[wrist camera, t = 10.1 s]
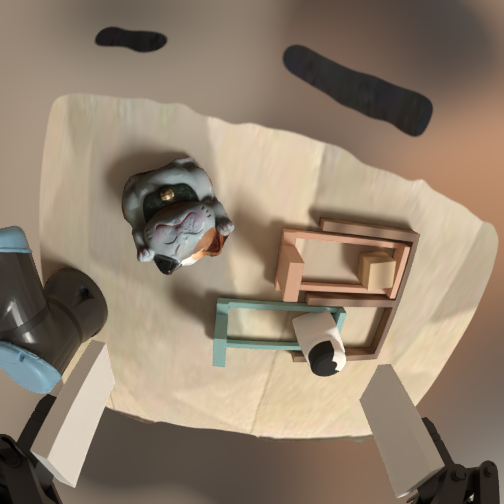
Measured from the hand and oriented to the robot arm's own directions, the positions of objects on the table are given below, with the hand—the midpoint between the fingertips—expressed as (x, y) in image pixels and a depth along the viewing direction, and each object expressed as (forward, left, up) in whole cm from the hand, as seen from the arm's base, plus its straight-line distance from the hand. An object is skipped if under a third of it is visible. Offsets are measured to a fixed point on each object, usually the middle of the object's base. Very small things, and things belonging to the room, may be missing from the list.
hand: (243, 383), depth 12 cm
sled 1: (+18, -7, -34) cm, 40 cm away
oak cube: (+24, -7, -35) cm, 43 cm away
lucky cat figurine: (-9, +1, -35) cm, 36 cm away
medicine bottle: (+16, -21, -35) cm, 44 cm away
